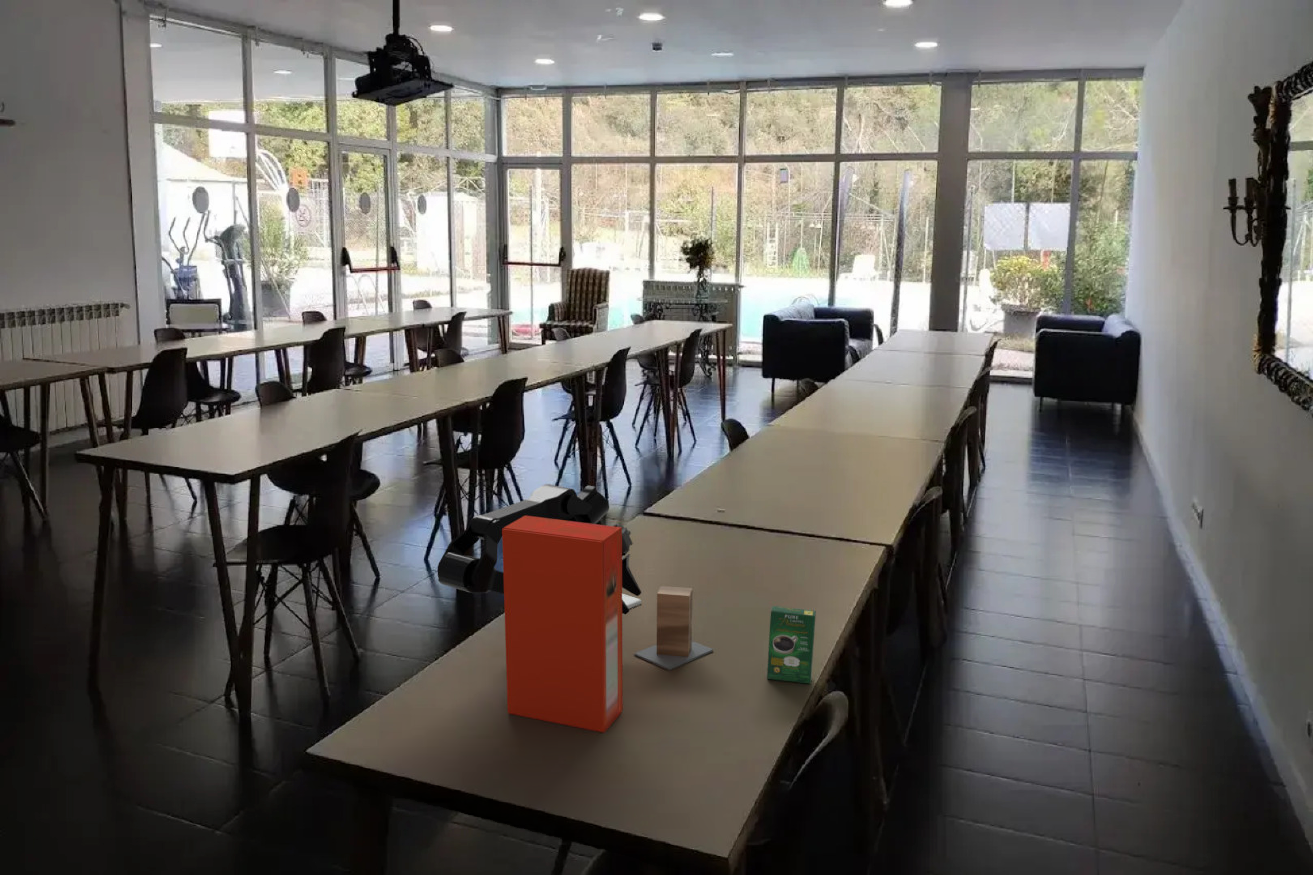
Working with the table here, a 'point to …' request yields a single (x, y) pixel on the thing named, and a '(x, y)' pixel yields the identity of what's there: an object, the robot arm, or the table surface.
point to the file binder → (563, 621)
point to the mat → (672, 661)
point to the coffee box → (791, 644)
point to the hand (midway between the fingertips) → (633, 603)
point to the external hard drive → (630, 601)
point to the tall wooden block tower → (674, 621)
